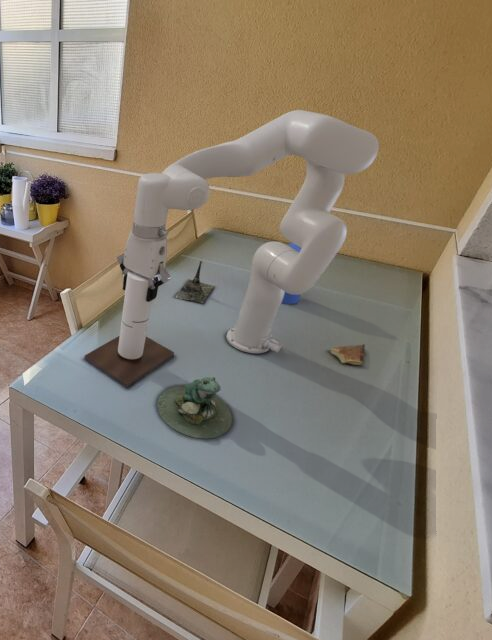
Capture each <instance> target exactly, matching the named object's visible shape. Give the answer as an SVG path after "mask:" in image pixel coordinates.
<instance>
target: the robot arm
mask: <svg viewBox="0 0 492 640" xmlns="http://www.w3.org/2000/svg"><path fill="white" fill-rule="evenodd" d="M379 144H380V143H379V141H378V138H377V136H375V135H374V134H373V133H371V132H369V131H367V130H364V129H362V128H359V127H357V126H354V125H353V124H349V123H347V122H345V121H342V120H341V119H338V118H336V117H334V116H330V115H327V114H324V113H319V112H313V111H309V110H304V109H294V110H291V111H288V112H286V113H284V114H281V115H280V116H278V117H276V118H274V119H272V120H270V121H268V122H266V123H265V124H263V125H262V126H259V127H257V128H256V129H254V130H252V131H251V132H248V133H247V134H245V135H243V136H241V137H238V138H237V139H234V140H232V141H227V142H226V141H225V142H223V143H219V144H215V145H212V146H209V147H205V148H202V149H199V150H196V151H194V152H191V153H189V154H187V155H185V156H183V157H182V158H179V159H177V160H176V161H175V162H173V163H171V164H169V166H167V167H166V168H165V169H164V170H163V171H161V172H160V173H159V172H149V173H144V174H142V175H141V176H140V177H139V178H138V180H137V187H136V196H135V204H134V213H133V220H132V228H131V230H130V231H129V234H128V237H127V241H126V244H125V248H124V253H122V254H120V255H118V256H116V260H117V262H118V264H119V268H120V270H121V275H122V276H123V281H122V290H123V291H125V289H126V281H127V273H128V271H130V270H131V271H133V272H136V273H138V274H140V275H142V276H145V277H147V278H148V280H149V284H150V287H149V288H148V291H147V298H146V301H147V302H150V301H153V300H155V299H156V298H157V296H158V291H159V287H161V286H162V285H164V284H166V283H167V282H169V281H170V280H171V279H172V277H171V275H170V273H169V272H168V270H167V268H166V266H167V258H168V239H167V237H168V235H169V230H167V229H166V227H167V225H166V224H167V219H168V214H169V213H168V212H169V210H179V211H194V210H197V209H199V208H201V207H203V206H204V205H205V204H206V203H207V201H208V200H209V197H210V195H211V188H210V185H209V183H208V182H207V181H206V180H208V179H209V180H210V179H214V178H243V177H249V176H253V175H255V174H257V173H259V172H261V171H262V170H264V169H267V168H268V167H270V166H272V165H274V164H276V163H277V162H279V161H282V160H283V159H285V158H288V157H290V156H295V157H298V158H300V159H301V158H302V159H304V160H305V165H306V174H305V179H304V181H303V184H302V186H301V188H300V190H299V191H298V193H297V194H296V196H295V198H294V199H293V201H292V203H291V204H290V206H289V207H288V210H287V211H286V212H285V214H284V216H283V217H282V220H281V222H280V224H279V227H278V229H279V234H280V235H281V236H282V237H283V238H285V239H286V240H287V241H289V242H290V243H294V244H296V245H297V246H299V247H301V248H302V249H301V251H300V252H298V251H296V250H294V249H293V248H291V247H289V246H288V244H286V243H284V242H281V241H268V242H265V243H264V244H262V245H260V246H259V247H258V248H257V250H255V252H254V255H253V257H252V260H251V261H252V262H251V270H250V278H249V282H248V286H247V288H246V291H245V294H244V298H243V301H242V304H241V308H240V310H239V313H238V316H237V319H236V323H235V326H234V327H232V328H230V329H229V330H228V331H227V333H226V340H227V342H228V343H229V345H231V346H232V347H234V348H235V349H237V350H239V351H241V352H245V353H248V354H263V353H266V352H268V351H269V350H271V351H273V352H275V353H279V352H280V350H281V345H280V344H281V341H278V340H276V339H274V338H273V332H271V331H272V328H273V326H274V323H275V320H276V318H277V315H278V312H279V310H280V307H281V304H283V303H282V300H283V297H284V293H285V292H286V293H289V294H292V295H299V294H301V295H302V294H304V293H306V292H308V291H309V290H310V289H311V288H313V287H314V285H315V284H316V283H317V282H318V280H319V279H320V278H321V276H322V275H323V274H324V272H325V271H326V270H327V268H328V267H329V265H330V264H331V262H332V261H333V260H334V258H335V257H336V256H337V254H338V253H339V251H340V250H341V249H342V247H343V245H344V243H345V241H346V238H347V234H348V228H347V224H346V223H345V221H344V220H343V219H341V218H340V217H338V216H336V215H335V214H332V213H331V211H332V209H333V207H334V205H335V204H336V203H337V200H338V199H339V198H340V195H341V194H342V191H343V188H344V185H345V180H346V179H345V177H346V176H345V175H356V174H358V173H361V172H363V171H365V170H367V168H369V167H370V166H371V165H372V164H373V163H374V161H375V160H376V158H377V156H378V154H379V150H380V149H379V148H380V145H379ZM160 276H161V279H160ZM153 278H155V283H154V279H153Z"/></svg>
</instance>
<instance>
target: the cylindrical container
mask: <svg viewBox="0 0 492 640" xmlns="http://www.w3.org/2000/svg"><path fill="white" fill-rule="evenodd" d="M153 279H154V283H155V278H153ZM149 287H150V284H149V280H148V278H147V277H145V276H142V275H140V274H138V273H136V272H133V271H131V270H130V271H128V273H127V281H126V289H125V290H124V291H125V292H124V297H123V298H124V299H123V306H122V314H121V322H120V330H119V336H120V337H119V345H118V353H119V354H120V355H121V356H122V357H124V358H127V359H138V358H140V357H141V356H142V355H143V349H144V344H145V338H146V337H147V331H148V326H149V321H150V320H149V319H150V314H151V307H152V301H153V300H152V301H150V302H147V301H146V298H147V291H148V288H149Z"/></svg>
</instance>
